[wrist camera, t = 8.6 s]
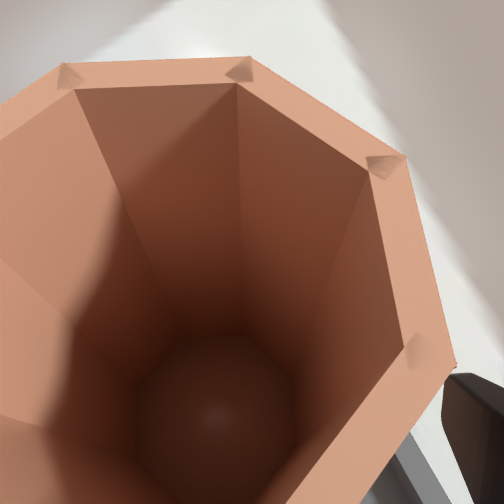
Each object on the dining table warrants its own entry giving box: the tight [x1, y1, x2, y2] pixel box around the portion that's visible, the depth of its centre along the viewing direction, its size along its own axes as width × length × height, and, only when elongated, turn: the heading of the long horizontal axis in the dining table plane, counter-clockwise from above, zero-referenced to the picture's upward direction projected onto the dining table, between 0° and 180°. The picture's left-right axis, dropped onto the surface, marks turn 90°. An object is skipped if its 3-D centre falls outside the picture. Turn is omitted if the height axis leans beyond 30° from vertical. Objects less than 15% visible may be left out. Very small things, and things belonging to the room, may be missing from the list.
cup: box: [0, 56, 457, 504], centre depth 11 cm, size 6×6×13 cm
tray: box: [359, 432, 452, 504], centre depth 16 cm, size 15×11×2 cm
